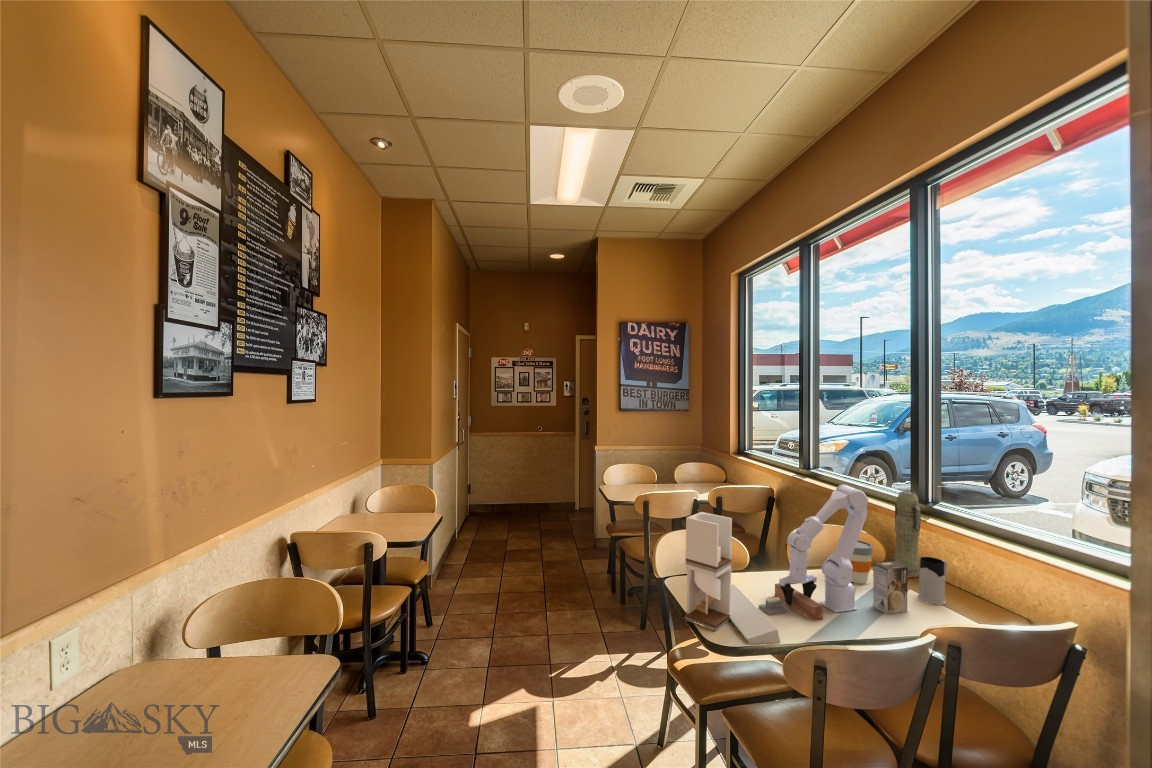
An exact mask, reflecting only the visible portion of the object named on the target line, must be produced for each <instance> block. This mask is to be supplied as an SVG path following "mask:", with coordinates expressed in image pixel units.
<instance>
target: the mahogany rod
mask: <svg viewBox="0 0 1152 768" xmlns="http://www.w3.org/2000/svg"><path fill="white" fill-rule="evenodd" d="M774 597H779V598H780V599H782V603H785V604H786V601H785V597H784V593H783V591H782V589H781V587H780V585H779V582H778V583H775V584H774ZM790 608H792V609H794V610H795V611H797V612H799V613H800V614H801V615H803V616H805V617H806V618H808V619H809V620H811V621H812V622H816V621H817V622H818V621H823V619H824V605H822V604H820V603H819V602H817V601H815V600H814V599H812V598H811V599H810V598H809V597H807V596H805V595H804V594H803V592H802V593H801V592H800V591H798V590H797V589H795V588H794V591H793V595H792V605H791V606H790Z"/></svg>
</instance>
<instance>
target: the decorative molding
mask: <svg viewBox="0 0 1152 768" xmlns="http://www.w3.org/2000/svg"><path fill="white" fill-rule="evenodd" d="M729 617H730V622H731V623H732V622H733V625H734V627H737V628H736V629H737V631H739V633H740V632H741V633H740V634H741V635H742V637H745V638H744V639H745V640H746V641H747V643H748V644H749V645H754V644H755V645H761V644H762V643H763V644H767V643H769V644H781V640H780V639H781V638H780V635H779V631H778V629H777V628H776V627H775V626H774V625H773V623H771V622H770V620H769V619H768V618H767V617H766V616H765V615H764V614H763V613H762V612H761V611H760V610H759V609H758V607H756V606H755V605H754V603H753V602H752V601H751V600H750V599H749V598H748V597H746V595H745V594H744V593H743V592H742V591H741V590H740V589H739V587H737V586H736V584H734V583H733V584H731V612H730V616H729Z"/></svg>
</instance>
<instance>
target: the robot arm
mask: <svg viewBox="0 0 1152 768" xmlns="http://www.w3.org/2000/svg"><path fill="white" fill-rule="evenodd" d="M868 503H869V498H868V496H867V495H866V494H865V492H864V491H863V490H861V489H857V488H855V487H852V486H849V485H847V484H839V485H838V486H837V487H836V488H835V489H834V490H833V491H832V493H831V496H830V497H829V499H828V500H827V501H826V502H825V503H824V505H823V506H822V508H820V510H819V511H818V512H817V513H816V514H815V515H814V516H809V517H806V518H805V519H804V522H803V523H802V524H801V525H800V526H799V527H798V528H796V529H795V530H794V531H791V532H790V533H789V534H788V537H786V542H787V543H788V545H789V574H788V576H785V577H782V578H779V579H778V583H779V585H780V587H781V589H782V591H783V593H784V597H785V601H786V603H785V604H786V605H787V606H789V607H791V605H792V595H793V591H794V589H795V588H794V587H792V585H798V584H801V585H802V594H804V595H805V596H807V597H809V598H810V599H812V596H813V594H814V592H815V590H816V589H817V587H818V585H817V584H816V583H817V581H818V580H817V576H815V575H811V574H810V575H808V550H809V549H810V548H811V546H812V542H813V540H814V539H815V537H817V536H818V534H820V532H821V531H823V529H824V523H825V522H826V521H827V520H829V519H830V518H831V517H832V516H833V515H834V514H835V513H836V512H837V511H838V510H840V509H846V511H847V512H848V515H847V518H846V519H845V523H844V526H843V529H842V531H841V534H840V535H839V539H838V541H837V544H836V547H835V550H834V552H833V553H831V554H829V555H827V559H825V561H824V562H823V563H822V565H821V572H822V574H824V583H825V585H824V600H821V601H818V603H819V604H821V605H822V606H823V607H825V608H827V609H828V610H830V611H832V612H834V613H840V612H842V613H843V612H849V611H856V610H857V609H858V608H857V607H855V606H856V604H855V603H856V590H855V587H854V586H853V583H851V580H852V570H853V567H852V564H851V562H850V559H851V557H852V554H853V551H854V549H855V546H856V543H857V541H858V540H859V538H860V535H861V533H862V530H863V527H864V525H865V522H866V520H867V517H868Z"/></svg>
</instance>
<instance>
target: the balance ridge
mask: <svg viewBox="0 0 1152 768" xmlns="http://www.w3.org/2000/svg"><path fill="white" fill-rule="evenodd" d="M758 608H759V609H760V610H762V611H763V612H764V613H765V614H766V615H769V616H775V615H776V616H777V615H781V614H783V615H784V614H789V613H790V609H788V608H786V607H785V606H784V605H783V601H782V599H780V598H779V597H775V596H774V597H766V598H765V604H764V603H763V604H758Z"/></svg>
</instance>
